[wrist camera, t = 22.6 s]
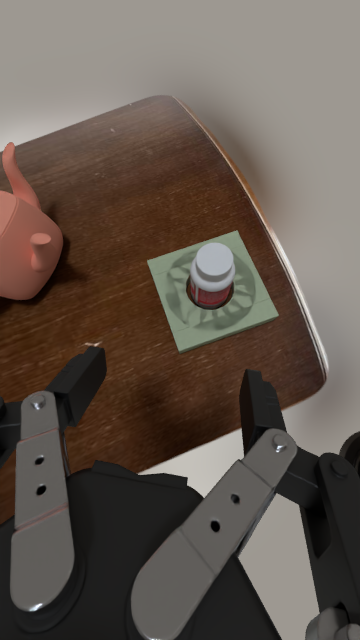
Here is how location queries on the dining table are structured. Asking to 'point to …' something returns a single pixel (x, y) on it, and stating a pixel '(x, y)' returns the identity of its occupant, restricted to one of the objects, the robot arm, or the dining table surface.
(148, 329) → the dining table surface
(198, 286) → the pill bottle
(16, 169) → the teapot
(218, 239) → the socket pad
